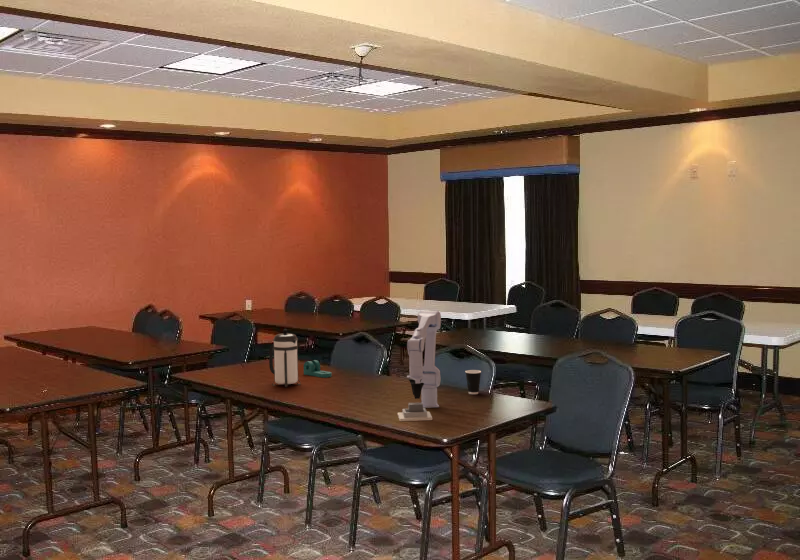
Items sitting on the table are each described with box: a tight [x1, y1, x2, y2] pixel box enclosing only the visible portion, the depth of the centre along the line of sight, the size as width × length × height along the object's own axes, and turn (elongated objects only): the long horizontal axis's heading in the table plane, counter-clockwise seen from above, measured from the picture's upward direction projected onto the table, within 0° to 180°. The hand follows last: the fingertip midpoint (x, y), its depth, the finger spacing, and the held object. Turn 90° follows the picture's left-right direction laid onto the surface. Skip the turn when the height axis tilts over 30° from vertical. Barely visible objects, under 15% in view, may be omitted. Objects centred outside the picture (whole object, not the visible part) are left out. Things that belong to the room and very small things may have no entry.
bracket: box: [303, 359, 333, 379], centre depth 457 cm, size 18×7×8 cm, turn 48°
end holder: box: [397, 408, 433, 422], centre depth 353 cm, size 12×14×3 cm
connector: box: [407, 402, 423, 412], centre depth 353 cm, size 4×6×5 cm, turn 95°
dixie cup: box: [464, 369, 482, 395], centre depth 401 cm, size 8×8×11 cm
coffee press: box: [268, 328, 301, 388], centre depth 430 cm, size 17×16×30 cm
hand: (416, 396), depth 354 cm, fingers open, 7 cm apart
